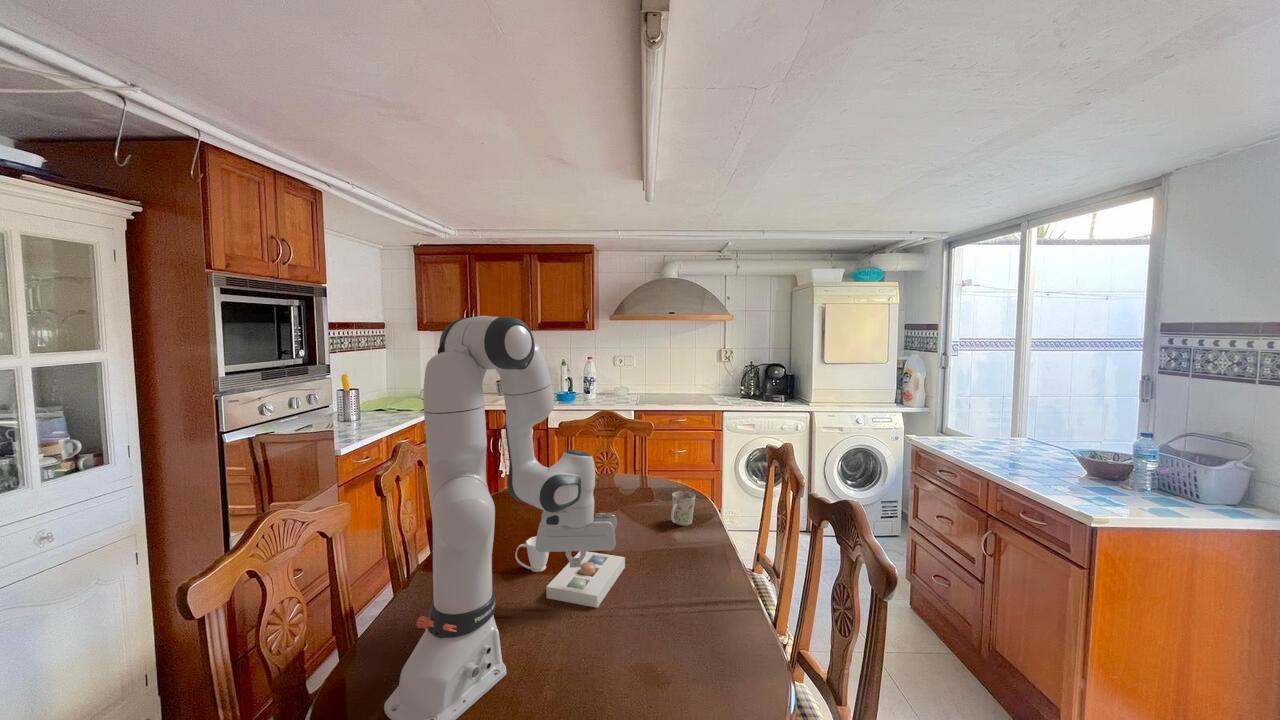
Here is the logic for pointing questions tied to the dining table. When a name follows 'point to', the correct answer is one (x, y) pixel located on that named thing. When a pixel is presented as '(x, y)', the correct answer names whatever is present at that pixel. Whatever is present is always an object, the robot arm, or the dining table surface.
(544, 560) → the cup
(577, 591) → the button panel
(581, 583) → the sage button
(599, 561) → the slate button
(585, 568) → the terracotta button
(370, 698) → the dining table surface
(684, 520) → the mug
